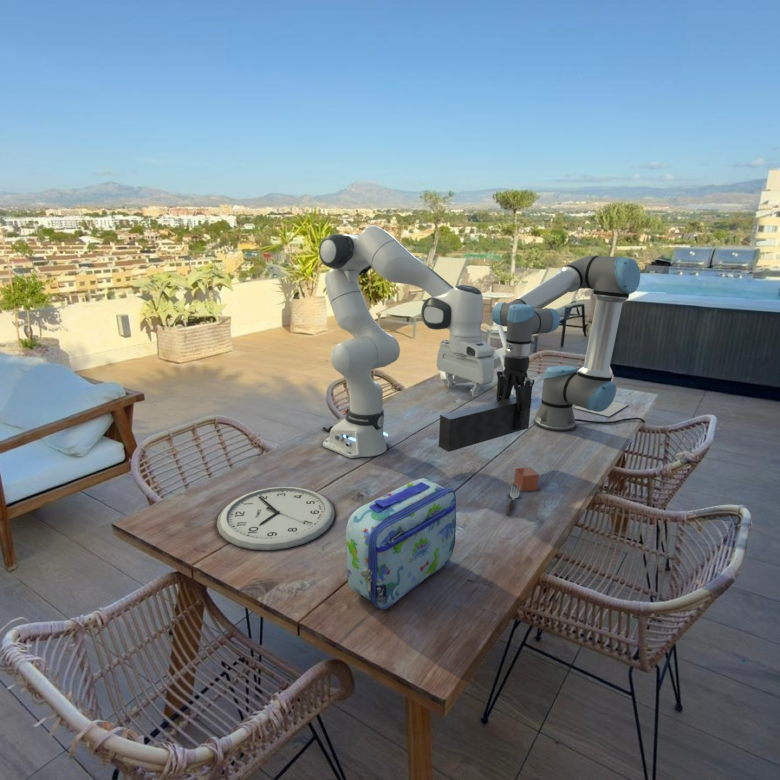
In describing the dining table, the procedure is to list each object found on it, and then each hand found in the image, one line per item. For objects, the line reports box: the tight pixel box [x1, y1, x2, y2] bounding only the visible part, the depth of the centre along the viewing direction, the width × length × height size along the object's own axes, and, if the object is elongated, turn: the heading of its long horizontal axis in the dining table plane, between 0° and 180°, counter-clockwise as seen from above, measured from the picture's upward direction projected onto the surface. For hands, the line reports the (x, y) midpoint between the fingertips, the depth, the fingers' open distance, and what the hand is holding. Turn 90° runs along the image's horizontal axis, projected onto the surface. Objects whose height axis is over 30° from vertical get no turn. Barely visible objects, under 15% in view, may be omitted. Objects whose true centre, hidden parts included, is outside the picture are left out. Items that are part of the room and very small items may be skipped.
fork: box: [507, 483, 521, 517], centre depth 145 cm, size 3×16×2 cm, turn 160°
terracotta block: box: [513, 466, 540, 492], centre depth 154 cm, size 5×5×5 cm
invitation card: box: [573, 400, 629, 418], centre depth 226 cm, size 21×1×15 cm
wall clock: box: [216, 486, 336, 551], centre depth 136 cm, size 30×2×30 cm
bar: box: [438, 396, 532, 453], centre depth 160 cm, size 34×4×10 cm, turn 125°
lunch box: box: [345, 477, 457, 610], centre depth 110 cm, size 26×11×21 cm, turn 134°
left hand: (462, 391), depth 150 cm, fingers open, 8 cm apart
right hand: (510, 426), depth 167 cm, fingers closed on bar, 4 cm apart
